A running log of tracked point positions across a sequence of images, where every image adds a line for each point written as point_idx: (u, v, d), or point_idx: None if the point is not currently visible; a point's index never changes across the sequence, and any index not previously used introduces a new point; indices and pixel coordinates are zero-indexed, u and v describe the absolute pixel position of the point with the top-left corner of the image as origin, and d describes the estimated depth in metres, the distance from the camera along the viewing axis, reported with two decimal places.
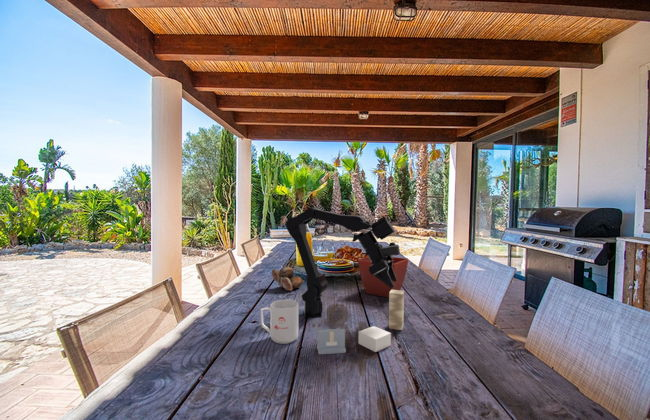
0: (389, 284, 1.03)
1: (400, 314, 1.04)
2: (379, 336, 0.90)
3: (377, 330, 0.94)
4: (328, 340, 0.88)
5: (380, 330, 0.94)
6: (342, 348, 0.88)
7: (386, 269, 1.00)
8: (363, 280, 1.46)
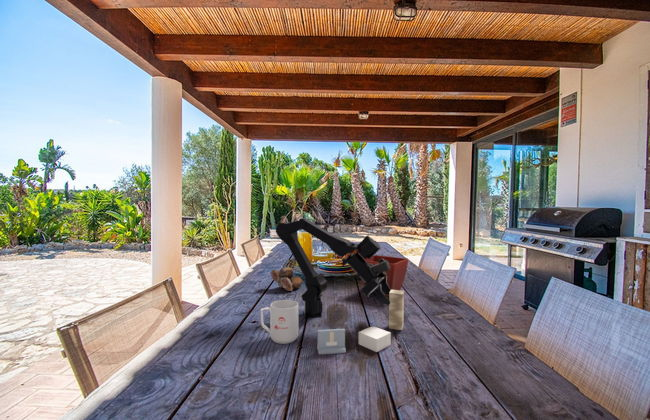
0: (385, 301, 1.03)
1: (400, 314, 1.04)
2: (379, 336, 0.90)
3: (377, 330, 0.94)
4: (328, 340, 0.88)
5: (380, 330, 0.94)
6: (342, 348, 0.88)
7: (378, 287, 1.01)
8: None
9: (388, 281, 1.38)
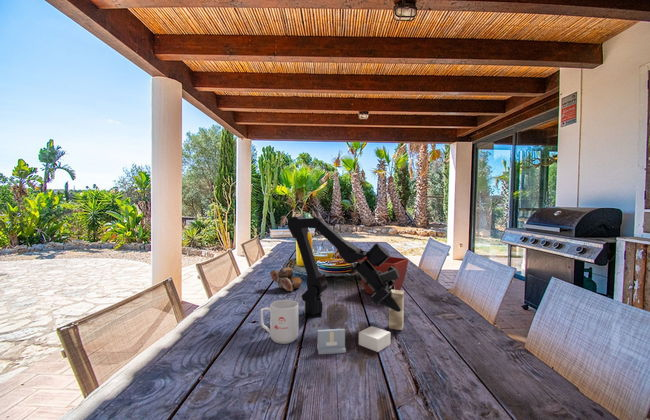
0: (396, 308, 1.03)
1: (400, 314, 1.04)
2: (380, 336, 0.90)
3: (376, 329, 0.94)
4: (328, 340, 0.88)
5: (379, 330, 0.94)
6: (342, 348, 0.88)
7: (389, 294, 1.01)
8: (363, 280, 1.46)
9: None
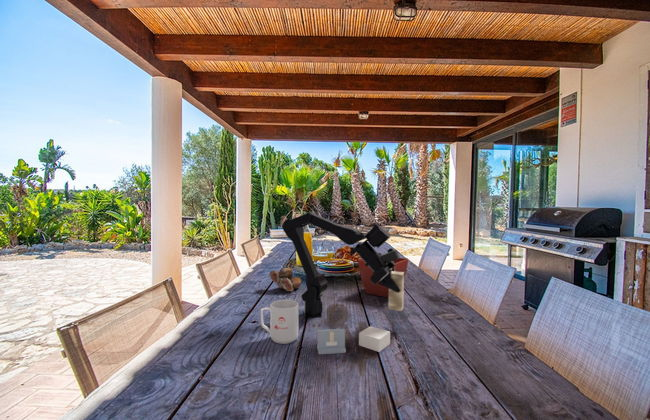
0: (395, 289, 1.03)
1: (400, 295, 1.03)
2: (381, 336, 0.90)
3: (376, 329, 0.95)
4: (328, 340, 0.88)
5: (379, 329, 0.95)
6: (342, 348, 0.88)
7: (388, 275, 1.01)
8: (363, 280, 1.46)
9: None
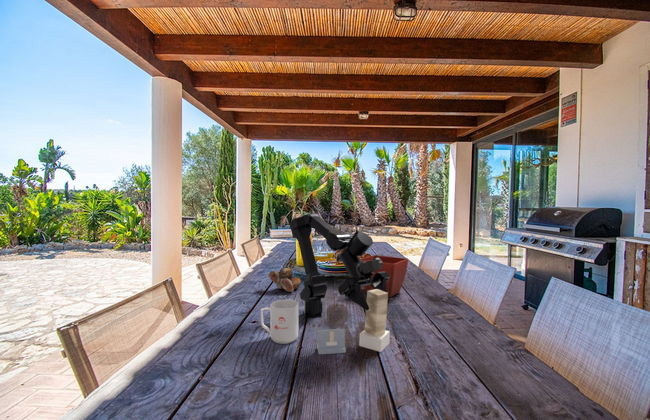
0: (363, 306, 0.89)
1: (375, 318, 0.90)
2: (382, 336, 0.90)
3: None
4: (328, 340, 0.88)
5: None
6: (342, 348, 0.88)
7: (352, 288, 0.89)
8: None
9: (388, 281, 1.38)
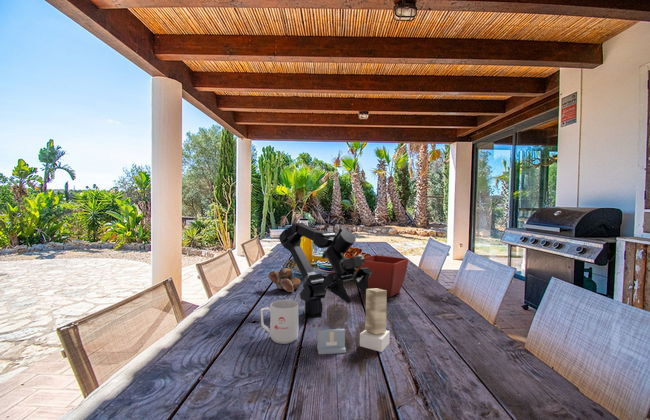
0: (345, 299, 0.95)
1: (374, 315, 0.91)
2: (382, 336, 0.90)
3: None
4: (328, 340, 0.88)
5: None
6: (342, 348, 0.88)
7: (335, 282, 0.95)
8: None
9: (388, 281, 1.38)
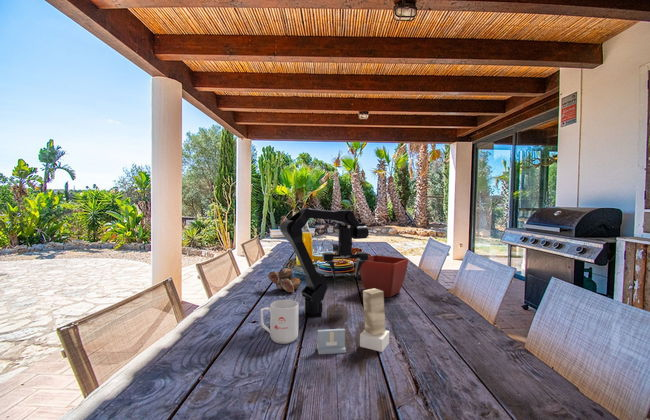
0: None
1: (371, 316, 0.91)
2: (382, 336, 0.90)
3: None
4: (328, 340, 0.88)
5: None
6: (342, 348, 0.88)
7: None
8: (363, 280, 1.46)
9: (388, 281, 1.38)
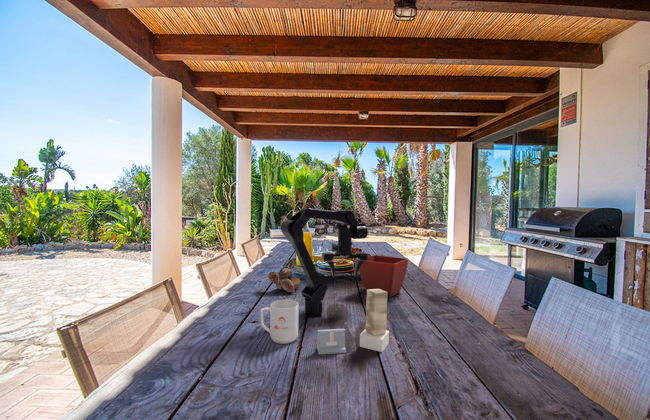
0: None
1: (373, 316, 0.91)
2: (382, 336, 0.90)
3: None
4: (328, 340, 0.88)
5: None
6: (342, 348, 0.88)
7: None
8: (363, 280, 1.46)
9: (388, 281, 1.38)
